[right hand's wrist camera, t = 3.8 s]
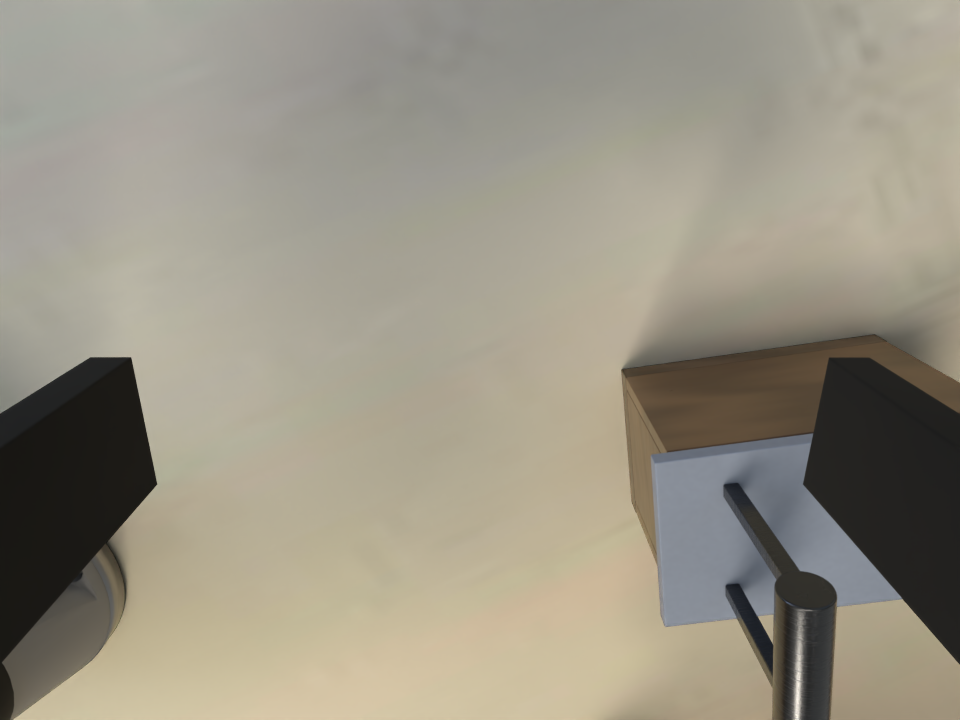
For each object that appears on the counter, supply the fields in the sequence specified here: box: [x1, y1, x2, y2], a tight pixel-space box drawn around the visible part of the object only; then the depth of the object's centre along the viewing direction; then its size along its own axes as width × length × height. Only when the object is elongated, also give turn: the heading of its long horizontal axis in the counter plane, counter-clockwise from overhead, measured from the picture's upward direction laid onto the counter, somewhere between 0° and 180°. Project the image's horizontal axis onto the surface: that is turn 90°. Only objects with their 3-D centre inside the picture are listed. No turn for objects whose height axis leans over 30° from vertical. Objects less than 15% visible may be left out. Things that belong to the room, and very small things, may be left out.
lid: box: [651, 433, 902, 720], centre depth 26 cm, size 16×9×9 cm, turn 99°
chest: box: [621, 335, 960, 566], centre depth 35 cm, size 15×9×10 cm, turn 99°
